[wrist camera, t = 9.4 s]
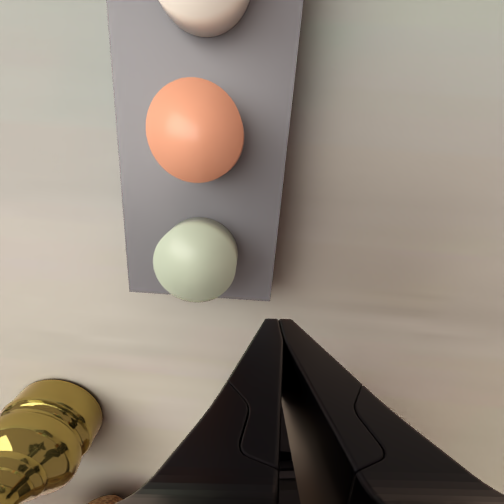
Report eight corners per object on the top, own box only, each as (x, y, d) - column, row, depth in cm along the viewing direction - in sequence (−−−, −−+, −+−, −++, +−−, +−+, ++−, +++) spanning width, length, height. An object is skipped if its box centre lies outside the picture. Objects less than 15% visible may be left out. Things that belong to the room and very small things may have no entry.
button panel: (267, 284, 20) (269, 301, 18) (144, 275, 20) (129, 291, 17) (304, -57, 14) (314, -101, 11) (123, -75, 14) (96, -124, 11)
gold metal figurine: (6, 416, 24) (-149, 580, 15) (38, 361, 22) (-118, 511, 13) (83, 450, 26) (-15, 620, 16) (119, 402, 24) (32, 564, 14)
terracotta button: (241, 182, 15) (239, 186, 13) (161, 176, 15) (147, 179, 13) (247, 92, 14) (246, 81, 12) (158, 84, 13) (143, 72, 12)
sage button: (235, 288, 17) (233, 305, 15) (165, 283, 17) (154, 299, 15) (240, 220, 16) (238, 228, 14) (163, 214, 16) (151, 222, 14)
